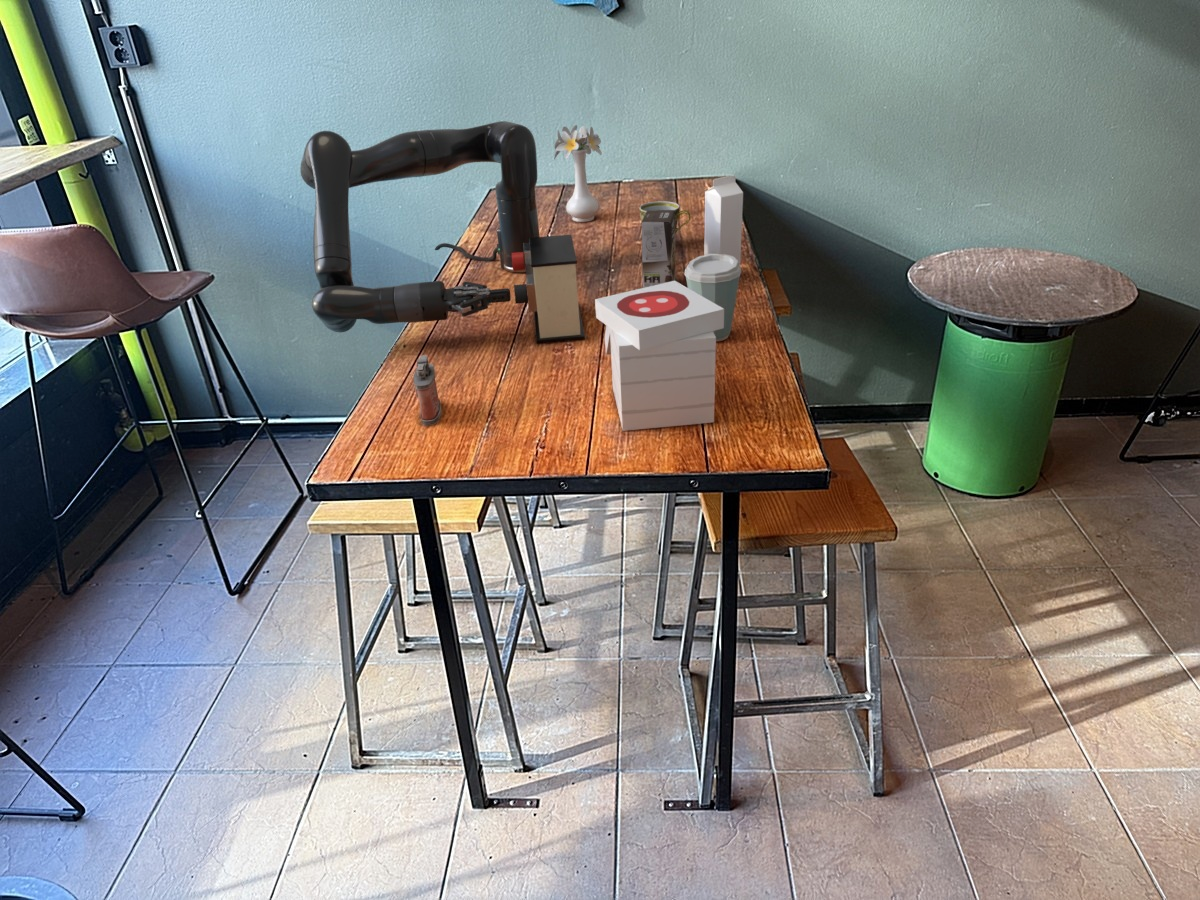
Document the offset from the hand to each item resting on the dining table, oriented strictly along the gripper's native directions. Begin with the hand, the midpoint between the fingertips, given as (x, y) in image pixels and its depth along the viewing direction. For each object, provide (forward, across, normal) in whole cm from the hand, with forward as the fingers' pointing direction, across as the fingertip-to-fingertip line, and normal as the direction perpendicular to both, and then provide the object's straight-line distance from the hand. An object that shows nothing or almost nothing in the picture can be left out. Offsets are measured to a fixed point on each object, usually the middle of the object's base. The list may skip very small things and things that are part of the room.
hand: (510, 294), depth 161 cm
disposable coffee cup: (+38, +8, -9) cm, 40 cm away
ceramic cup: (+39, -48, -9) cm, 63 cm away
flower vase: (+20, -79, -9) cm, 82 cm away
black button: (+2, 0, -2) cm, 3 cm away
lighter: (-14, +29, -9) cm, 34 cm away
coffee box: (+33, -21, -9) cm, 40 cm away
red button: (+2, -9, +2) cm, 9 cm away
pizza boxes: (+24, +28, -9) cm, 38 cm away
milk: (+48, -25, -9) cm, 55 cm away
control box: (+9, -4, -9) cm, 14 cm away
